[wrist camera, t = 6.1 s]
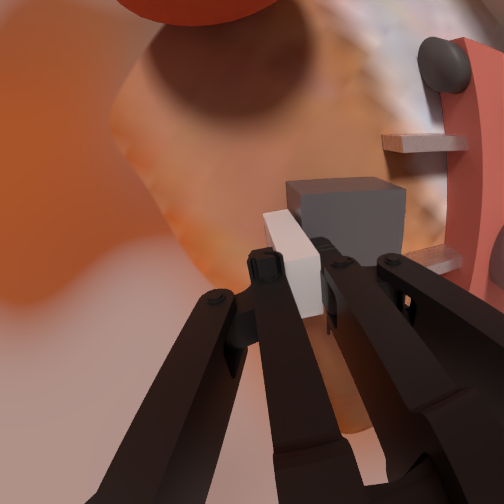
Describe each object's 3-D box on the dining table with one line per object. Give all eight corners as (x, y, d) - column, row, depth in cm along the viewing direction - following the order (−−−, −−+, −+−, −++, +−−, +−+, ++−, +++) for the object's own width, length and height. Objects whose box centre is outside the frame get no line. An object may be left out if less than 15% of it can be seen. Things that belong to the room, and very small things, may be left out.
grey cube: (285, 181, 17) (300, 194, 13) (373, 176, 17) (406, 189, 13) (289, 256, 19) (303, 286, 15) (371, 246, 19) (398, 272, 15)
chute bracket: (381, 134, 16) (401, 136, 13) (445, 133, 16) (466, 136, 13) (386, 270, 20) (402, 286, 17) (443, 254, 20) (461, 267, 17)
